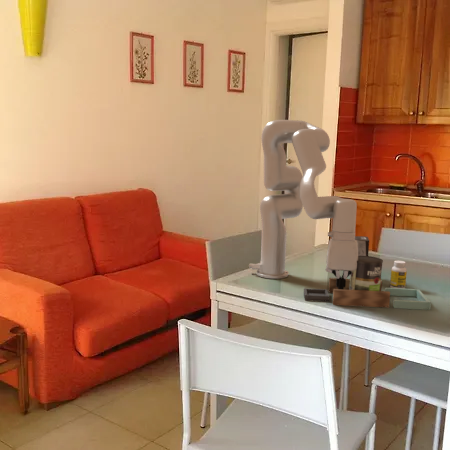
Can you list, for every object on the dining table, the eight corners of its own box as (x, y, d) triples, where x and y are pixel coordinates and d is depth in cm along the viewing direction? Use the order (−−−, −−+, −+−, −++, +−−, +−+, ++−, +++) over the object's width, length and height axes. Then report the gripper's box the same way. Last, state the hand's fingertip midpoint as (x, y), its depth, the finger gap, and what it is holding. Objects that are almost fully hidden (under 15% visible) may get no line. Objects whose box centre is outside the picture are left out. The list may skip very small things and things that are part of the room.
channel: (333, 304, 180) (333, 290, 179) (328, 291, 195) (329, 278, 194) (389, 307, 178) (390, 292, 178) (380, 294, 193) (381, 280, 192)
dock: (393, 307, 178) (394, 300, 178) (384, 294, 193) (385, 287, 193) (430, 309, 177) (430, 302, 177) (418, 295, 192) (418, 289, 192)
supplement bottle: (397, 290, 198) (399, 264, 196) (386, 286, 203) (388, 260, 201) (408, 288, 201) (410, 262, 199) (397, 284, 205) (399, 259, 204)
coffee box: (366, 282, 208) (369, 240, 205) (349, 281, 209) (352, 239, 206) (365, 276, 216) (368, 236, 214) (349, 275, 218) (351, 235, 215)
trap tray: (304, 300, 184) (305, 295, 184) (303, 293, 192) (303, 288, 192) (329, 301, 183) (329, 296, 183) (326, 294, 191) (327, 289, 191)
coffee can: (385, 301, 185) (389, 260, 183) (363, 305, 180) (367, 263, 177) (363, 293, 194) (366, 254, 191) (341, 296, 188) (344, 256, 186)
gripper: (321, 237, 180) (319, 291, 183) (367, 239, 179) (364, 293, 182) (320, 233, 187) (317, 285, 190) (364, 234, 186) (361, 287, 189)
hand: (340, 289), depth 186 cm, fingers closed
